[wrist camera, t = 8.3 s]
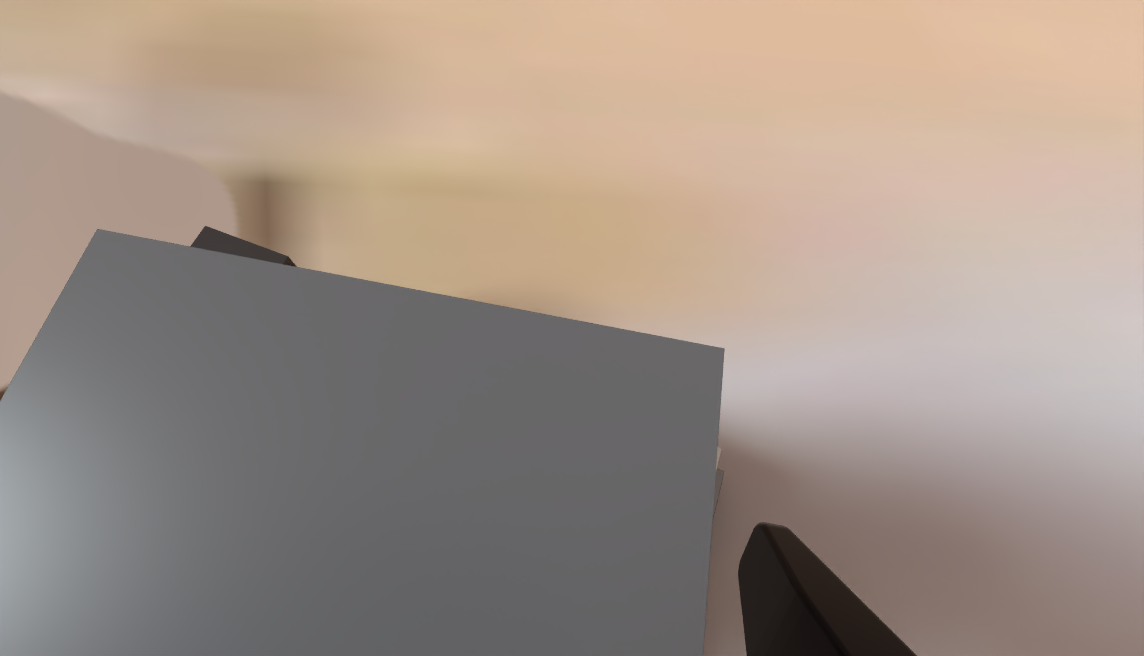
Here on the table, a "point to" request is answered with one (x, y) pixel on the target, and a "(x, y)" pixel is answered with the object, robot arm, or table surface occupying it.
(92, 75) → the table surface
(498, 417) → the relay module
